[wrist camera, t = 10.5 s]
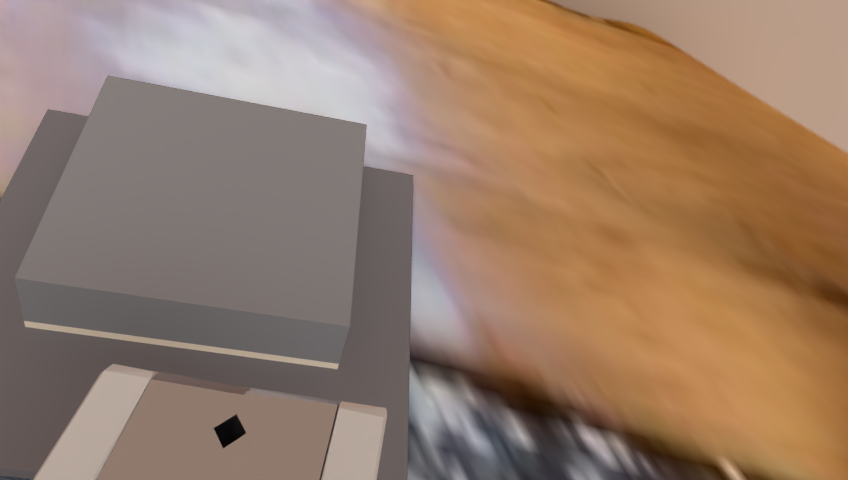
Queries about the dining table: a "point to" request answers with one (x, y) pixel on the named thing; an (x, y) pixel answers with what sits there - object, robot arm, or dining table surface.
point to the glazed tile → (201, 227)
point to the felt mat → (89, 355)
